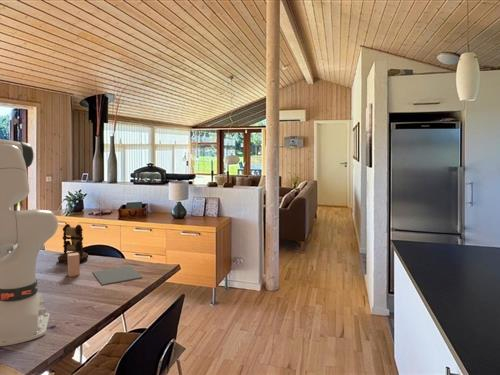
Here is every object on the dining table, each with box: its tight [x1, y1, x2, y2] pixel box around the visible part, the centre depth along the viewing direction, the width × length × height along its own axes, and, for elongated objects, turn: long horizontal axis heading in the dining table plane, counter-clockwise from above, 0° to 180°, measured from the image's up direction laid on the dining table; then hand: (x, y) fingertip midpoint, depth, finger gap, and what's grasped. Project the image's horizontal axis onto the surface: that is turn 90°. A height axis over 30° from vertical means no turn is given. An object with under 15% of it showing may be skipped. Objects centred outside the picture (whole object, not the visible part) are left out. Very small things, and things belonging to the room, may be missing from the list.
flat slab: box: [92, 265, 143, 286], centre depth 171 cm, size 20×18×1 cm
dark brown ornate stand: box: [57, 223, 89, 263], centre depth 192 cm, size 15×15×20 cm
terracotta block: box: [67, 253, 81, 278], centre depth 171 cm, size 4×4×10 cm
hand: (43, 244), depth 163 cm, fingers open, 8 cm apart
